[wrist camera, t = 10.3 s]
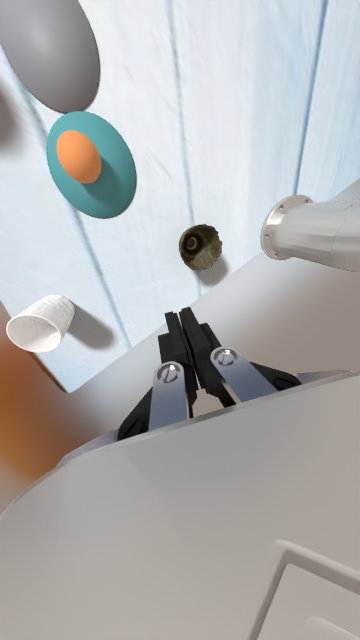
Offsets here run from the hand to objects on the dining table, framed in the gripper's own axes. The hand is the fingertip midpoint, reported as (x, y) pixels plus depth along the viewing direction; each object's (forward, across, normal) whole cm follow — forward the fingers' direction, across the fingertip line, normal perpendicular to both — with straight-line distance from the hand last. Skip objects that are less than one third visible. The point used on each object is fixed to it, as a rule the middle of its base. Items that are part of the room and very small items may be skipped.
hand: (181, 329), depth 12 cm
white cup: (+29, +23, +7) cm, 38 cm away
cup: (+29, -8, 0) cm, 30 cm away
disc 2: (+29, +6, -14) cm, 33 cm away
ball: (+26, +7, -15) cm, 31 cm away
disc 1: (+29, +6, -26) cm, 39 cm away
